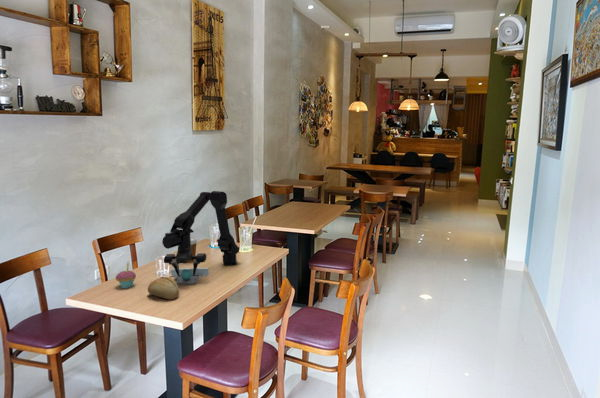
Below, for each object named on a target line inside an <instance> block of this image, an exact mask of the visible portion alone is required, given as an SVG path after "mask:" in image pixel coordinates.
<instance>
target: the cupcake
mask: <svg viewBox="0 0 600 398" xmlns="http://www.w3.org/2000/svg"><path fill="white" fill-rule="evenodd" d="M129 264H130V263H129V262H127V263H126V270H122V271H120V272H118V273H117V274H116V275H115V280H116V281H117V282H119V285H120V287H121V289H122V288H123V289H128V288H131V287H133V284H134V281H135V279H136V276H137V275H136V273H135V272H134V271H133V270H129V268H130V267H129V266H130V265H129Z"/></svg>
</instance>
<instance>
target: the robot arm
mask: <svg viewBox="0 0 600 398" xmlns="http://www.w3.org/2000/svg"><path fill="white" fill-rule="evenodd" d="M208 202H210V205H211V206H212V207H213V209H214V210H215V215H216V220H217V225H218V231H219V238H217V240H216V242H217V247H218V248H219V250H220V252H221V253H222V264H223V266H236V265H237V263H238V259H237V254H239V252H240V247H239V246H238V245H237V244H236V242H235V238H234V237H233V235H232V234H231V232H230V227H229V226H230V225H229V222H228V217H227V216H228V215H227V210H226V206H227V204H228V195H227V193H226V192H225V191H220V190H213V191H211V192H210V191H202V192H200V194H199V196H197V198H196V199H195V200H194V201H193V202H192V204H191V205H190V206H189V207H188V208H187V210H186V211H184V212H182V213H180V214H179V215H177V216H176V217H175V219H174V222H173V223H172V227H171V229H170V230H169V232H166V233H165V234H164V236H163V238H162V245H163V247H164V248H165V249H168V250H169V249H172V248H175V247H177V252H176V254H175V253H167V254H166V255H165V256H164V257H163V263H164V264H168V265H171V266H172V267H173V269H175V271H176V273H177V275H178V276H179V269H180V264H185V265H186V264H188V263H187V261H188V260H194V262H192V266H193V267H192V268H193V276H195V273H196V269H197V268H198V266H199V265H200V264H201V263H205V262H206V261H207V259H208V257H207V254H206V253H205V252H204V253H202V252H201V253H197V254H196V255H195V256H192V252H191V239H190V237H191V234H192V233H194V232H195V230H193V229H192V227H193V224H194V223H195V218H196V217H197V216H198V214H199V213H200V212H201V211H202V210H203V208H204V207H206V205H207V203H208Z"/></svg>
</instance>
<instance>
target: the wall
mask: <svg viewBox="0 0 600 398" xmlns="http://www.w3.org/2000/svg"><path fill="white" fill-rule="evenodd" d="M185 269H188V270H190V271H191V273H192V275H193V267H191V268H187V267H186V268H179V275H181V272H182V271H183V270H185ZM195 274H201V277H202V276H203V277H204V276H205V277H210V268H209V267H197V269H196V273H195ZM170 275H171V277H176V276H177V273H176V271H175V269H174V268H171V269H170Z"/></svg>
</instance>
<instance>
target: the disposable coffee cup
mask: <svg viewBox="0 0 600 398" xmlns="http://www.w3.org/2000/svg"><path fill="white" fill-rule="evenodd" d="M190 239H191V252H192V256H196V255H197V254H196V250H197V243H198V240H197V238H196V237H192V236H190ZM190 263H194V260H188V261H187V263H186V264H190Z"/></svg>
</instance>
